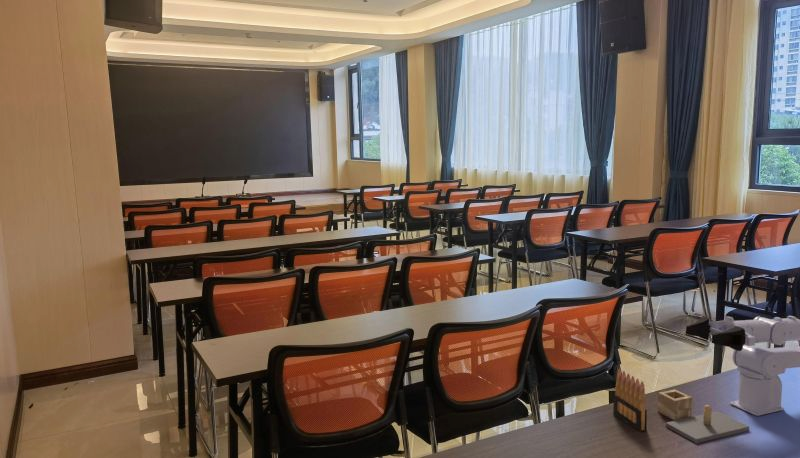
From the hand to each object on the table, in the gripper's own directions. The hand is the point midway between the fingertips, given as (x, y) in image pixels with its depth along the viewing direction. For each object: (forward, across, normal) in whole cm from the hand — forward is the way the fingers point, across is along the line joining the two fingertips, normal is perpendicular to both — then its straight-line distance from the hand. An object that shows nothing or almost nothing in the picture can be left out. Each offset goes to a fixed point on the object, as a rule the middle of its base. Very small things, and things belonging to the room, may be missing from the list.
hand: (699, 334), depth 142 cm
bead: (0, -5, +22) cm, 22 cm away
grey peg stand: (-1, +4, +22) cm, 22 cm away
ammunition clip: (+13, -6, +23) cm, 27 cm away
